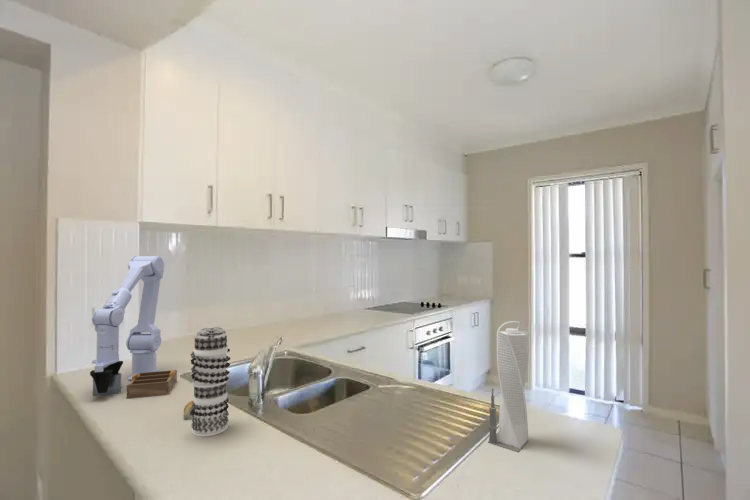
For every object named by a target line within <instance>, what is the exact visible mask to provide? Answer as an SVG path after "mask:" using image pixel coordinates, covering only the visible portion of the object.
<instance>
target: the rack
mask: <svg viewBox="0 0 750 500" xmlns="http://www.w3.org/2000/svg"><path fill="white" fill-rule="evenodd" d="M177 373H178V370H177V369H171V370H161V371H160V370H159V371H157V372H145V373H139V374H138V373H137V374H134V375H133V376H132V380H130V382H129V383H127V384H126V399H127V400H128V399H138V398H139V399H140V398H146V397H147V398H148V397H157V396H158V395H159V396H166V394H168V395H169V394H170V393H169V392H172V389H173V388H174V387H175V384H177V382H178V381H177V379H178V378H177V377H178V374H177ZM159 396H158V397H159Z"/></svg>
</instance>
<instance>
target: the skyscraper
mask: <svg viewBox="0 0 750 500" xmlns="http://www.w3.org/2000/svg"><path fill="white" fill-rule="evenodd" d="M513 323H514V324H515V323H516V324H517V326H516V327H515V328H512V327H508V328H505V330H501V329H502V328H503V326H505V325H508V324H513ZM520 326H521V322H520V321H518V320H508V321H505V322H503V323H502V324H501V325H500V326H499V327H498V328H497V329H496V365H497V366H496V370H497V376H498V383H499V387H500V397H499V398H500V401H499V411H498V412H499V414H498V426H497V418H496V414H497V407H496V406H495V396H494V388H491V396H490V406H489V407H488V408H489V426H488V428H489V439H488V441H487V444H491V445H493V446H497V447H499V448H503V449H506V450H510V451H512V452H515V453H519V452H521V450H522V449H523V448H524V447H525V445H526V444H527V443H528V442H529V426H528V425H529V424H528V423H529V422H528V411H527V401H526V394H525V386H526V385H525V384H526V380H527V376H528V370H529V368H528V367H529V358H530V357H529V353H530V352H529V351H530V350H529V349H530V348H529V347H530V344H529V343H530V341H529V336H530V335H529V332H528V331H524V330H523V331H521V330H519V329H520ZM497 429H498V432H497Z"/></svg>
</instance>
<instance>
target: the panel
mask: <svg viewBox="0 0 750 500" xmlns="http://www.w3.org/2000/svg"><path fill="white" fill-rule="evenodd" d="M121 392H122V373H118V374H111V376H110V379H109V384H108V390H107V392H106V393H98V391H97V388H96V384H95V381H94V379H93V378H92V397H101V396H111V395H112V396H113V395H119V394H121Z"/></svg>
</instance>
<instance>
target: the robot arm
mask: <svg viewBox="0 0 750 500" xmlns="http://www.w3.org/2000/svg"><path fill="white" fill-rule="evenodd" d="M127 269H128V271H127V273H126V275H125V276H124V279H123V281H122V283H121V285H120V287H119V288H115V289H114V290H113V291H112V292H111V294H110V296H109V297H108V299H107V300H106V301H105V303H104V305H103V306H102V308H99V309H98V310H96V311H95V312H94V313H93V316H92V318H91V322H92V324H93V326H94V330H95V332H96V359H94V360H92V361H91V364H92V365H93V364H95V365H94V370H91V371H89V375H90V377H91V379H92V380H93V379H94V381H95V384H96V388H97V391H98V393H106V392H107V390H108V384H109V379H110V376H111V374H118V373H119V372H120V369H121V368H122V365H123V363H124V360H120V354H119V351H120V349H119V346H120V345H119V342H120V339H119V338H120V335H119V334H120V325H121V324H122V322H123V321H124V320H125V319H124V318H125V313H126V310H125V309H126V308H127V306H128V304H129V303H130V301H131V299H132V293H131V292H132V291H133V290H134V288H135V287H136V286H137V284H138V283H139V281H140V280H142V282H143V287H142V293H141V294H142V295H141V300H140V306H139V313H138V320H137V325H135V326H134V327H132V328H131V329H130V330H129V335H128V337H127V339H126V342H125V344H126V348H127V350H128V351H129V353H130V354H131V375H130V376H129V377H128V378H127V380H128V381H132V376H133V375H134V374H137V373H138V374H139V373H145V372H157V371H160V369H157V352H156V351H158V349H159V348H160V346H161V344H162V338H161V331H162V330H161V329H160V328H158V327H157V326H156V325H155V320H156V315H157V314H156V313H157V307H158V299H159V292H160V287H161V286H160V285H161V280H162V279H163V275H164V269H165V262H164V260H163V258H162V257H161V256H159V255H153V256H151V255H150V256H149V255H148V256H145V255H142V256H141V255H133V256H132V257H130V259H129V262H128V264H127Z"/></svg>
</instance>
